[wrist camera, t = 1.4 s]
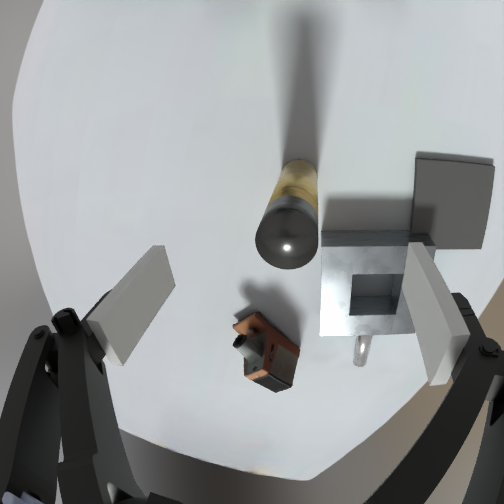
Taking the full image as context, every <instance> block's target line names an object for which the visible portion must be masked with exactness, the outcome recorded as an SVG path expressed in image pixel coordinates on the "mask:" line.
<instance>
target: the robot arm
mask: <svg viewBox="0 0 504 504" xmlns="http://www.w3.org/2000/svg"><path fill="white" fill-rule="evenodd" d="M175 286H176V285H175V282H174V278H173V275H172V271H171V268H170V264H169V261H168V257H167V254H166V250H165V246H164V245H161V246H152V247H151V248H150V249H149V250H148V251H147V252H146V253H145V255H144V256H143V257H142V258H141V259H140V260H139V261H138V262H137V263H136V264H135V265H134V266H133V267H132V268H131V269H130V270H129V272H128V273H127V274H126V275H125V276H124V277H123V278H122V279H121V280H120V281H119V282H118V284H117V285H116V286H115V287H114V288H113V289H111V290H110V291H108V292H107V293H105V294H104V295H103V296H102V297H101V299H100V300H99V302H97V303H96V304H95V305H94V307H93V308H92V309H91V310H90V311H89V312H88V313H87V314H86V316H85V317H84V318H83V319H82V320H81V321H80V320H79V318H78V316H77V314H76V312H75V310H74V309H72V308H65V309H62V310H60V311H59V312H57V313H56V314H55V315H54V316H53V318H52V320H51V321H52V323H53V325H54V327H55V329H56V330H57V332H58V333H52V332H51V330H50V328H49V327H48V326H46V325H43V326H39V327H37V328H35V329H34V330H33V331H32V333H31V334H30V336H29V338H28V341H27V343H26V345H25V348H24V350H23V353H22V355H21V358H20V360H19V363H18V366H17V368H16V371H15V374H14V377H13V379H12V382H11V385H10V388H9V391H8V394H7V398H6V401H5V404H4V407H3V411H2V414H1V418H0V504H55V500H56V489H57V476H58V482H59V487H60V493H61V498H62V503H63V504H182V503H181V502H179V501H176V500H173V499H170V498H167V497H164V496H160V495H158V494H155V493H152V492H150V495H149V497H145V495H144V494H143V492H142V490H141V489H140V488H139V486H138V485H137V484H136V482H135V480H134V478H133V474H132V471H131V469H130V465H129V462H128V459H127V456H126V453H125V449H124V446H123V442H122V439H121V435H120V432H119V428H118V424H117V420H116V416H115V412H114V407H113V403H112V398H111V394H110V389H109V384H108V379H107V373H106V368H105V364H104V362H103V360H102V359H103V358H104V356H105V355H106V356H107V358H108V360H109V361H110V363H112V364H116V365H120V366H123V365H124V364H125V362H126V361H127V359H128V357H129V356H130V354H131V353H132V351H133V350H134V348H135V346H136V345H137V343H138V342H139V340H140V339H141V337H142V336H143V334H144V333H145V331H146V329H147V328H148V326H149V325H150V323H151V322H152V320H153V319H154V317H155V316H156V314H157V313H158V311H159V310H160V308H161V307H162V305H163V304H164V302H165V301H166V299H167V298H168V296H169V295H170V293H171V292H172V290H173V289H174V287H175ZM402 290H403V293H404V296H405V299H406V302H407V305H408V308H409V311H410V314H411V318H412V321H413V324H414V327H415V331H416V334H417V338H418V341H419V345H420V349H421V352H422V356H423V360H424V364H425V368H426V372H427V376H428V381H429V385H430V386H432V385H439V384H446V383H447V381H448V379H449V377H450V375H452V378H453V384H452V386H451V388H450V389H449V391H448V393H447V394H446V396H445V398H444V400H443V401H442V403H441V405H440V406H439V408H438V409H437V411H436V413H435V414H434V416H433V418H432V419H431V420H430V422H429V423H428V425H427V426H426V428H425V429H424V431H423V432H422V434H421V435H420V436H419V438H418V439H417V440H416V442H415V443H414V445H413V446H412V447H411V449H410V450H409V451H408V453H407V454H406V455H405V456H404V458H403V459H402V460H401V461H400V463H399V464H398V465H397V466H396V468H395V469H394V470H393V471H392V472H391V474H390V475H389V476H388V477H387V478H386V479H385V480H384V482H383V483H382V484H381V485H380V486H379V487H378V488H377V489H376V490H375V491H374V493H373V494H372V495H371V496H370V497H369V498H368V499H367V500H366V501H365V502H364V503H363V504H424V503H425V502H426V500H427V499H428V498H429V496H430V495H431V493H432V492H433V491H434V489H435V488H436V486H437V485H438V483H439V482H440V480H441V479H442V478H443V476H444V475H445V473H446V472H447V470H448V468H449V467H450V465H451V464H452V462H453V460H454V459H455V457H456V455H457V454H458V452H459V450H460V449H461V447H462V445H463V443H464V441H465V440H466V438H467V436H468V434H469V432H470V430H471V428H472V426H473V424H474V422H475V420H476V418H477V416H478V414H479V412H480V410H481V407H482V405H483V403H484V401H485V400H487V401H489V407H488V413H487V418H486V423H485V428H484V433H483V437H482V442H481V446H480V450H479V454H478V457H477V461H476V464H475V468H474V471H473V474H472V477H471V480H470V483H469V486H468V489H467V492H466V495H465V497H464V500H463V502H462V504H504V351H502V350H501V347H500V346H499V345H498V343H497V342H495V341H494V340H493V339H491V338H487V337H486V336H485V334H484V331H483V329H482V327H481V326H480V323H479V321H478V319H477V317H476V316H475V313H474V311H473V309H471V306H470V304H469V302H468V300H467V299H466V298H465V297H464V296H463V295H462V294H461V293H450V291H449V289H448V287H447V285H446V283H445V281H444V279H443V278H442V276H441V274H440V272H439V270H438V268H437V267H436V265H435V263H434V261H433V260H432V258H431V256H430V255H429V253H428V251H427V250H426V248H425V246H424V245H423V243H422V242H409V244H408V252H407V259H406V265H405V271H404V277H403V283H402ZM45 364H46V365H47V367H48V368H49V369H48V372H46V370H45ZM61 437H62V447H63V454H64V461H63V462H60V463H58V460H59V449H60V440H61Z"/></svg>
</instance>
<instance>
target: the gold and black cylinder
mask: <svg viewBox="0 0 504 504" xmlns="http://www.w3.org/2000/svg"><path fill="white" fill-rule="evenodd" d="M255 243H256V248H257V250H258V252H259V254H260V256H261V257H262V258H263V259H264V260H265V261H266V262H267V263H269V264H270V265H272V266H274V267H277V268H280V269H296V268H300V267H302V266H304V265H306V264H307V263H309V262H310V261H311V260H312V259H313V257H314V256H315V254H316V252H317V248H318V184H317V172H316V170H315V168H314V167H313V166H312V165H311V164H310V163H309V162H307V161H304V160H293V161H291V162H289V163H287V164H286V165H285V167H284V168H283V170H282V172H281V175H280V177H279V180H278V182H277V184H276V187H275V189H274V192H273V194H272V196H271V199H270V201H269V203H268V206H267V208H266V211H265V213H264V215H263V218H262V220H261V223H260V225H259V227H258V230H257V232H256V237H255Z"/></svg>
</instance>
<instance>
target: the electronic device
mask: <svg viewBox="0 0 504 504" xmlns="http://www.w3.org/2000/svg"><path fill="white" fill-rule="evenodd" d="M233 329H235V330H236V331H237V332H238V333H239V334H240V335H238V337H237V338H236V339H235V341H234V343H233V346H234V347H235V348H236V349H237V350H238V351H239V352H240V353H241V354H242V355H243V356H244V376H245V377H247V378H248V379H250V380H252V381H254V382H255V383H258V384H260V385H262V386H264V387H266V388H268V389H270V390H271V391H273V392H275V393H277V392H279V391H283V390H286V389H289V388H291V387H292V385H293V379H294V374H295V369H296V365H297V360H298V358H299V354H300V348H299V347H297V346H296V345H294V344H293V343H292V342H291V341H290V340H289V339H288V338H287V337H285V336H284V335H283V334H282V333H281V332H279V331H278V330H277V329H276V328H274V327H273V326H271V325H270V324H269V322H268V321H266V319H265V318H264V317H262V315H261V314H260V313H259V312H256V313H253V314H252V315H250V316H248V317H247V318H245V319H243V320H242V321H240V322H238V323H236V324H233Z"/></svg>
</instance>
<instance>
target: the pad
mask: <svg viewBox="0 0 504 504" xmlns="http://www.w3.org/2000/svg"><path fill="white" fill-rule="evenodd" d="M494 171H495V166H493V165H487V164H478V163H469V162H460V161H449V160H436V159H421V158H415V180H414V196H413V208H412V218H411V227H410V231H411V233H428V234H429V236H430V237H431V239H432V240H433V242H434V243H435V245H436V249H481V248H482V244H483V239H484V235H485V230H486V225H487V220H488V214H489V209H490V203H491V196H492V189H493V181H494Z"/></svg>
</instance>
